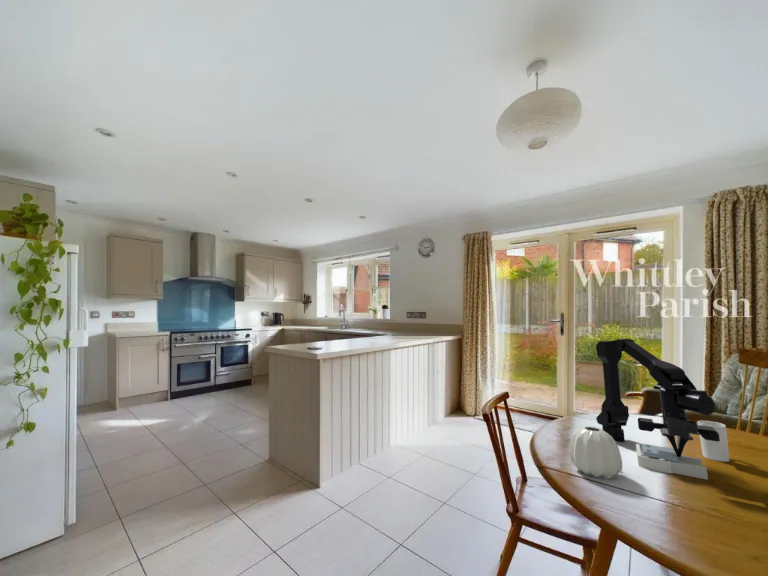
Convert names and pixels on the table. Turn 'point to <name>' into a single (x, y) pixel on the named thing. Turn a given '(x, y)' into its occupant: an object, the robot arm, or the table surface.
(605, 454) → the vase
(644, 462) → the white open box
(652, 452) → the cover
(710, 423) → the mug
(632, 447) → the table surface
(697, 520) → the table surface
